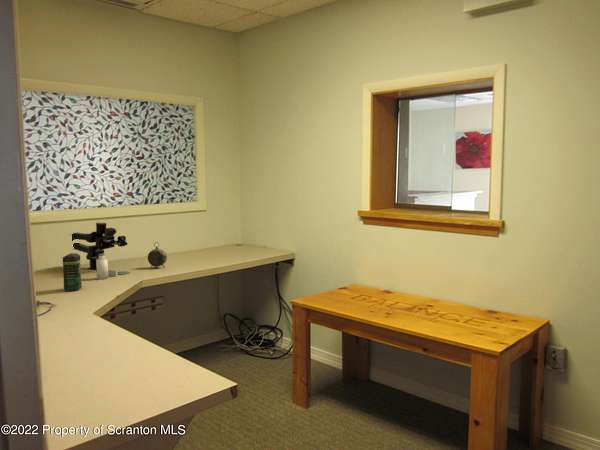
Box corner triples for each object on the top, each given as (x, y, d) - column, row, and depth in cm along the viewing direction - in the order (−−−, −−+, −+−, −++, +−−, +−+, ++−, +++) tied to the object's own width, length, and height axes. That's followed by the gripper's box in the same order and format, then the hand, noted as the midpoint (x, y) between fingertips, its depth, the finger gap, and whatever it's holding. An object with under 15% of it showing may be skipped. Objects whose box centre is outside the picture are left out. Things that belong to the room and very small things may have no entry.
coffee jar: (79, 291, 260) (76, 255, 258) (62, 292, 259) (60, 255, 257) (83, 287, 269) (81, 252, 267) (67, 287, 268) (65, 252, 266)
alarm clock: (167, 267, 323) (166, 241, 321) (164, 268, 317) (163, 242, 315) (150, 267, 324) (149, 241, 322) (147, 268, 318) (145, 242, 317)
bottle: (94, 279, 289) (93, 254, 288) (103, 277, 295) (102, 252, 293) (102, 279, 287) (101, 255, 285) (110, 277, 292) (109, 253, 290)
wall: (102, 274, 300) (102, 269, 300) (104, 274, 301) (103, 268, 301) (116, 276, 295) (115, 270, 295) (117, 276, 296) (117, 270, 296)
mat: (110, 274, 302) (110, 273, 302) (122, 271, 310) (122, 270, 310) (121, 275, 298) (121, 274, 298) (133, 272, 306) (133, 272, 306)
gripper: (90, 229, 304) (107, 233, 296) (117, 225, 319) (134, 230, 311) (90, 247, 306) (107, 252, 298) (116, 243, 321) (133, 247, 313)
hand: (120, 244), depth 305 cm, fingers open, 9 cm apart
